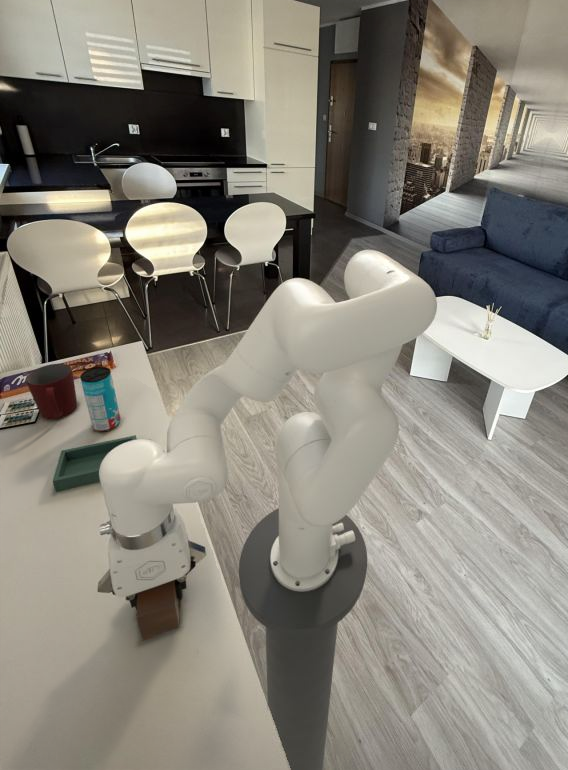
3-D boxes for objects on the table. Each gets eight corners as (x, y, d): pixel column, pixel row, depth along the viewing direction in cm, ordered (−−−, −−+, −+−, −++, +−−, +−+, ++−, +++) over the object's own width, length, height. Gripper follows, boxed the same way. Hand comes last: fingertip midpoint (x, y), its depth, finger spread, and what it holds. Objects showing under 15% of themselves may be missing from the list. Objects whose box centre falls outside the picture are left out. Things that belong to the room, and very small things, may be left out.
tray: (137, 445, 92) (135, 435, 91) (135, 473, 85) (133, 462, 84) (64, 461, 86) (61, 450, 85) (55, 492, 79) (52, 481, 78)
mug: (82, 422, 97) (72, 385, 92) (36, 434, 92) (23, 396, 88) (80, 395, 106) (71, 360, 101) (38, 405, 101) (27, 369, 96)
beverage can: (124, 425, 97) (114, 374, 91) (97, 436, 93) (84, 384, 87) (116, 413, 101) (106, 363, 95) (89, 423, 97) (76, 372, 91)
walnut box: (144, 575, 67) (139, 552, 64) (177, 564, 69) (173, 541, 66) (142, 641, 58) (136, 617, 56) (179, 626, 60) (174, 603, 58)
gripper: (66, 567, 49) (94, 647, 57) (211, 523, 56) (219, 599, 64) (76, 516, 55) (101, 595, 63) (206, 482, 62) (214, 556, 70)
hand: (160, 596), depth 63 cm, fingers closed on walnut box, 5 cm apart
